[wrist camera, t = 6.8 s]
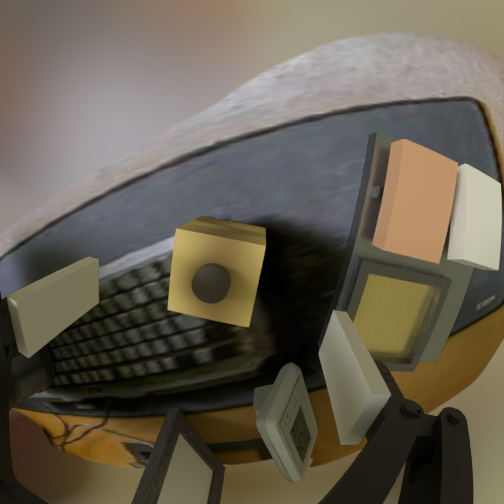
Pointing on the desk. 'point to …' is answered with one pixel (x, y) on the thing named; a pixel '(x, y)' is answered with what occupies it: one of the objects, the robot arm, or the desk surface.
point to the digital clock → (287, 421)
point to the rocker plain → (475, 220)
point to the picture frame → (180, 467)
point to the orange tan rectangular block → (416, 202)
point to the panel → (394, 282)
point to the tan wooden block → (216, 269)
